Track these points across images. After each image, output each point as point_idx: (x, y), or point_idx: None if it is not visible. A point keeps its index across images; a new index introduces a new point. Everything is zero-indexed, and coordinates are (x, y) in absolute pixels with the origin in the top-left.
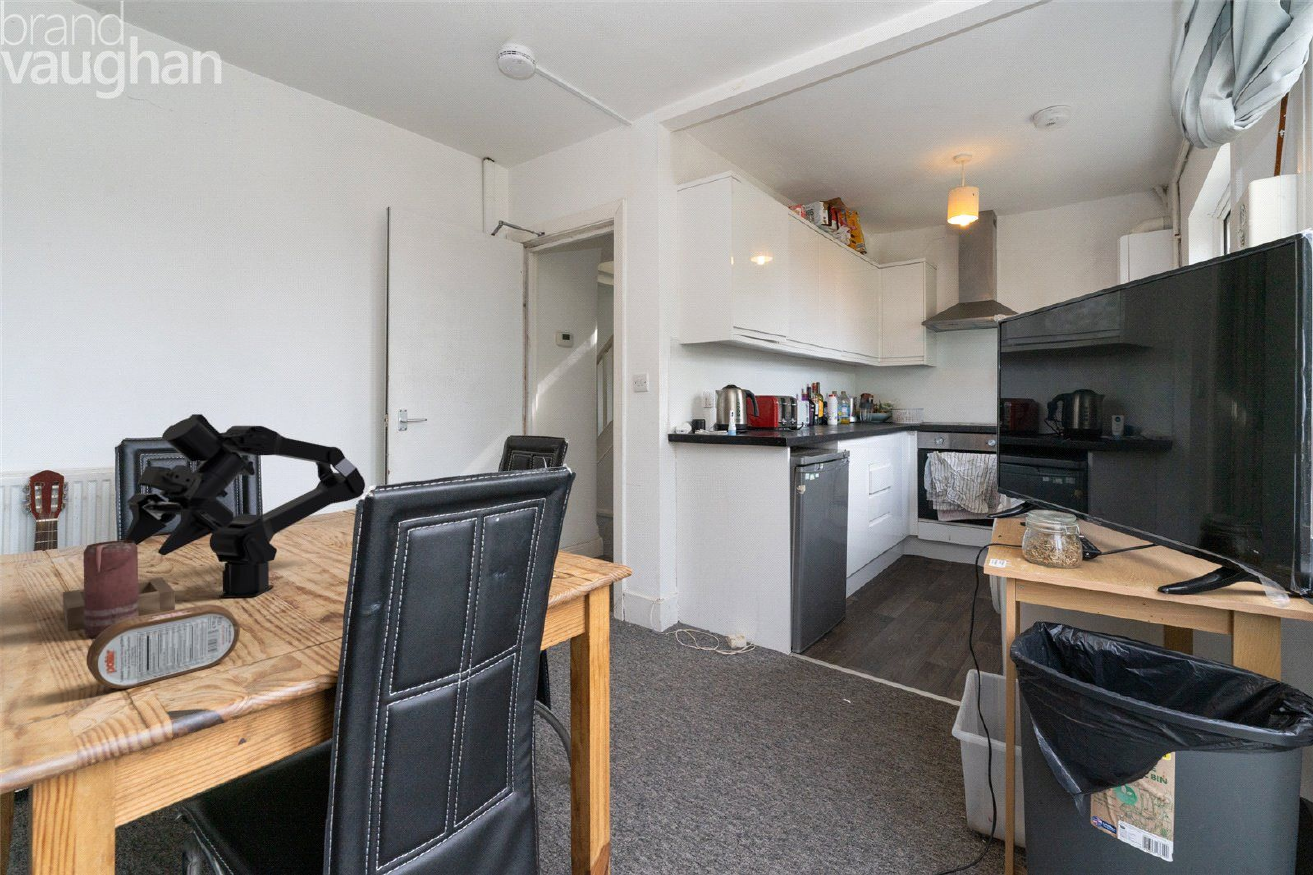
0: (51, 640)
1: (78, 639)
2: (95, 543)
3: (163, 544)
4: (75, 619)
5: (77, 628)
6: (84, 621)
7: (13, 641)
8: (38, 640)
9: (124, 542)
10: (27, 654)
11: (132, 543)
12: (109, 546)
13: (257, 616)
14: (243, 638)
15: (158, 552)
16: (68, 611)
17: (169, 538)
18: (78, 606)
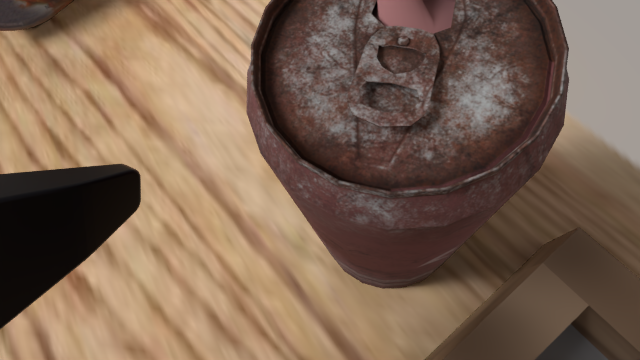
0: None
1: None
2: (564, 63)
3: (78, 174)
4: (544, 250)
5: (529, 259)
6: (523, 269)
7: (625, 164)
8: (551, 167)
9: (407, 196)
10: None
11: (253, 88)
12: (388, 34)
13: (22, 330)
14: (12, 144)
15: (136, 171)
16: (571, 231)
17: (7, 183)
18: (564, 256)
